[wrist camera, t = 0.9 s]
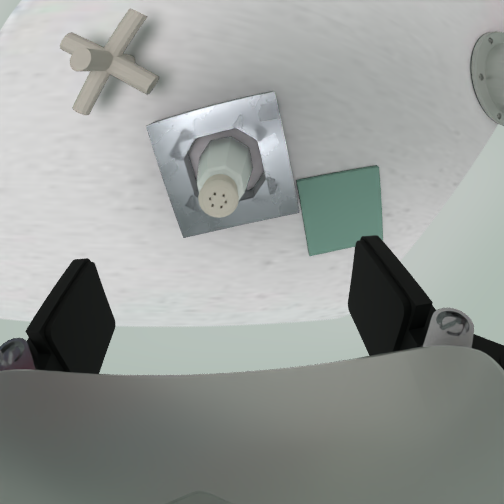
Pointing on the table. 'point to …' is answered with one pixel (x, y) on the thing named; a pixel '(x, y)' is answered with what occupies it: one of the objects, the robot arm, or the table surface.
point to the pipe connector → (107, 62)
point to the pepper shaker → (223, 176)
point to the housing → (216, 120)
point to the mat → (340, 208)
